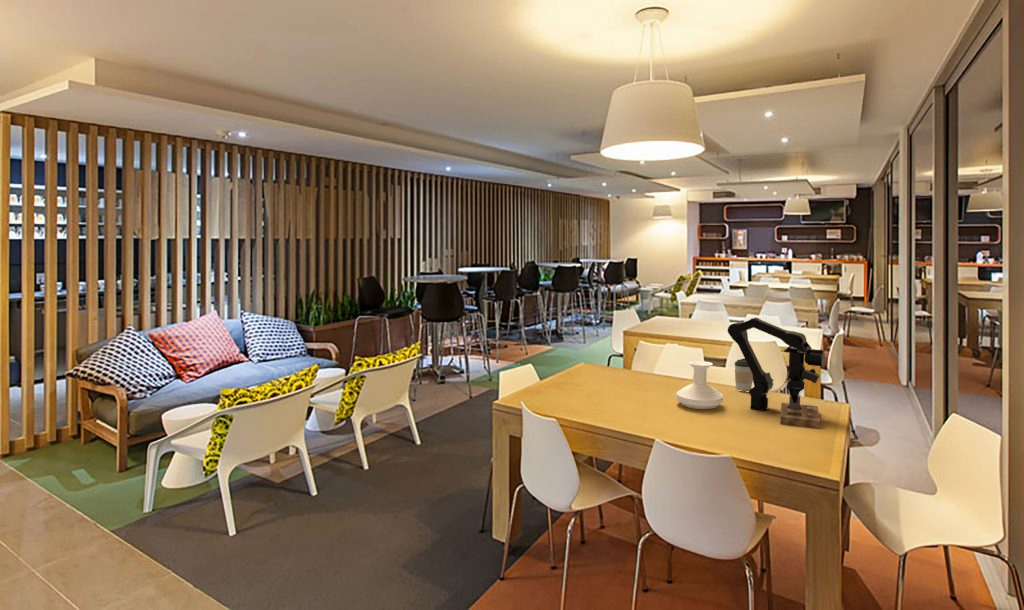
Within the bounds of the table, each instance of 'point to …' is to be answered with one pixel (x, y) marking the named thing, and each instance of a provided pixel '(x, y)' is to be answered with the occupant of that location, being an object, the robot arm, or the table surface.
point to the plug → (794, 405)
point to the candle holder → (699, 389)
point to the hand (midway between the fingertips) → (794, 400)
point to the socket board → (800, 416)
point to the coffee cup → (743, 375)
